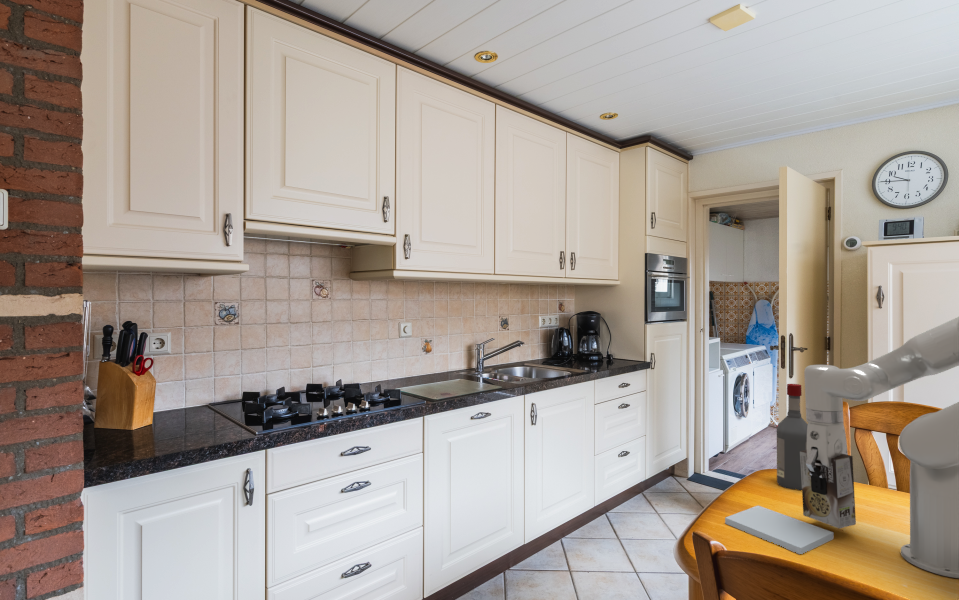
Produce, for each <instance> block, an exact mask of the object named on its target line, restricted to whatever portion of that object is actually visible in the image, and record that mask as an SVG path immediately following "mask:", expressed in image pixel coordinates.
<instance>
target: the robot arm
mask: <svg viewBox="0 0 959 600" xmlns="http://www.w3.org/2000/svg"><path fill="white" fill-rule="evenodd" d="M956 367H959V316H957V317H955V318H953V319H951V320H949V321H946V322H944V323H942V324H940V325H938V326H934V327H933V328H931V329H929V330H926V331H925V332H921V333H919V334H917V335H914V336H913V337H912V338H909V339H908V340H907V341H906V342H905V343H904V344H902V345H901V346H899V347H897V348H896V349H894V350H892V351H890V352H887V353H886V354H883V355H881V356H879V357H876V358H874V359H872V360H870V361H868V362H866V363H863V364H860V365H856V366H853V367H848V368H839V366H838V367H837V366H836V365H831V364H810V365H807V366H806V367H805V368H804V393H805V394H804V396H805V418H806V419H805V422H806V423H807V424H808V427H807V461H806V465H807V467H808V470H809V471H810V475H811V490H812V492H815V493H819V494H822V495H826V494H827V483H826V478H824V476H825V465H826V467H829V468H830V467H831V459H832V458H835V457H837V456H839V455H842V454H846V455H849V454H848V443H847V433H846V430H845V424H844V405H843V404H844V403H843V399H846V400H850V401H857V402H862V401H863V402H864V401H867V400H870V399H872V398H874V397H877V396H879V395H882V394H883V393H884V394H885V393H886V392H888V391H891V390H893V389H895V388H899V387H900V386H903V385H905V384H908V383H911V382H913V381H916V380H918V379H921V378H924V377H929V376H935V375H938V374H941V373H944V372H946V371H948V370H951V369H953V368H956ZM898 441H899V442H898V443H899V446H900V449H901V452H902V454H903V455H904V457H905V458H907V459H908V460H909V461H910V464H909V465H910V467H909V543H906V544H904V545H902V546H901V547H900V555H901V557H902V558H903V559H904V560H906V561H907V562H908V563H910V564H912V565H913V566H914V567H916V568H919V569H922V570H924V571H926V572H930V573H933V574H936V575H939V576H943V577H949V578H953V579H954V578H955V579H959V401H958V402H955V403H953V404H951V405H949V406H947V407H944V408H943V409H940V410H938V411H935V412H929V413H926V414H922V415H920V416H918V417H917V418H915V419H913V420H912V421H911V422H909V423H908V424H906V426H905V427H904V428H903V429H902V431H901V432H900V434H899V439H898ZM816 460H820V461H821V463H822V464H820V463H815V462H816ZM816 466H818V467H821V470H819V469H818V468H817V467H816Z"/></svg>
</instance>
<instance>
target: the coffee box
mask: <svg viewBox="0 0 959 600" xmlns="http://www.w3.org/2000/svg"><path fill="white" fill-rule="evenodd" d="M853 457H854V456H853V455H849V454H848V455H846V454H842V455H839V456H837V457H835V458H832V459H831V467H830V468H829V467H826V465H825V476H824V478H826V483H827V494H826V495H822V494H819V493H815V492H812V490H811V475H810V471H809V470H808V467H807V465H806V461H807V450H803V451H800V463H801V480H802V491H801V493H802V496H801V497H802V512H803V513H802V514H803V516H804V517H807V518H810V519H813V520H814V521H818V522H821V523H823V524H826V525H829V526H831V527H833V528H834V527H835V528H836V529H842V528H847V527H851V526H855V525H856V524H857V519H856V518H857V517H856V501H855V498H856V497H855V484H854V482H855V480H854V479H855V478H854V463H853V462H854V458H853ZM815 463H820V464H822V463H821V461H820V460H816V462H815ZM816 467H817V468H818V469H819V470H821V467H818V466H816Z"/></svg>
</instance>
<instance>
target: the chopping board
mask: <svg viewBox="0 0 959 600" xmlns="http://www.w3.org/2000/svg"><path fill="white" fill-rule="evenodd" d="M724 524H725V525H728V526H730V527H733V528H734V529H738V530H740V531H742V532H744V531H745V533H747V534H749V535H752V536H754V537H757V538H759V539H761V538H762V539H761V540H764V541H766V540H767V542H769V543H771V542H773V543H774V545H776V544H777V545H776V546H778V545H780V546H779V547H781V546H782V547H781V548H783V547H784V548H783V549H785V548H786V550H788V551H791V552H793V553H795V552H796V553H795V554H798V555H800V554H802V555H804V554H806V553H808V552H810V551H811V550H813V549H815V548H817V547H820V546H822V545H824V544H826V543H828V542H830V541H832V540H834V532H833V531H830V530H828V529H824V528H822V527H820V526H816V525H814V524H812V523H808V522H806V521H802V520H800V519H797V518H794V517H793V516H792V517H791V516H789V515H786V514H783V513H781V512H777V511H775V510H772V509H769V508H766V507H764V506H761V505H755V506H753V507H750V508H748V509H744V510H742V511H739V512H737V513H734V514H731V515H729V516H726V517H725V518H724ZM773 543H772V544H773ZM807 551H808V552H807ZM805 552H806V553H805ZM803 553H804V554H803Z"/></svg>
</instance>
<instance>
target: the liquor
mask: <svg viewBox="0 0 959 600" xmlns="http://www.w3.org/2000/svg"><path fill="white" fill-rule="evenodd" d="M787 395H788V398H787V399H788V400H787V401H788V407H787V408H788V409H787V415H786V416H785V417H784V418H783V419H782V420H781V421H780V422H779V423H778V424H777V425H776V426H777V427H776V482H777V485H778V486H780V487H783V488H785V489H788V490H789V489H790V490H795V489H797V490H796V491H801V490H802V480H801V463H800V451H803V450H807V427H808V422H807V421H806V420H804V419H803V416H802V413H801V396H802V395H803V393H802V385H801V384H799V383H787V384H786V396H787Z"/></svg>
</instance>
